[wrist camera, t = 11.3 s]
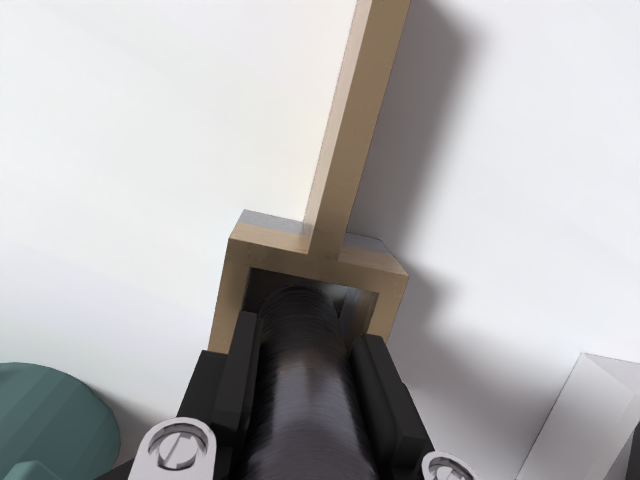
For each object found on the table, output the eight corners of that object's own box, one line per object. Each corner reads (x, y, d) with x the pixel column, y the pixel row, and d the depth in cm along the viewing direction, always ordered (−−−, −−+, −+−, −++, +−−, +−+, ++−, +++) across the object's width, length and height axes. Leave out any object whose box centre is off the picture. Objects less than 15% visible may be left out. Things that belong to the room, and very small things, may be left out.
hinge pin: (265, 277, 13) (201, 703, 3) (346, 293, 13) (489, 708, 4) (249, 349, 14) (161, 853, 4) (326, 361, 14) (403, 843, 5)
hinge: (297, 506, 20) (299, 594, 16) (187, 495, 19) (163, 585, 16) (460, -17, 13) (530, -75, 9) (299, -73, 12) (303, -161, 8)
